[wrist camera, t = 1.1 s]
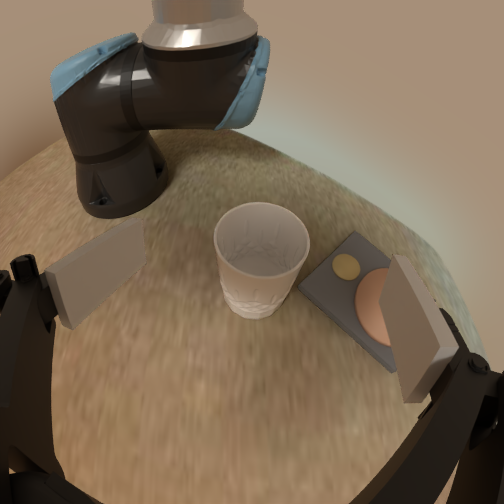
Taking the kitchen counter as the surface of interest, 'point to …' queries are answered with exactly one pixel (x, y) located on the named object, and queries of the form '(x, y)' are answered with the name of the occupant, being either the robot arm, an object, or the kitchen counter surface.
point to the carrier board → (354, 294)
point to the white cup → (259, 256)
